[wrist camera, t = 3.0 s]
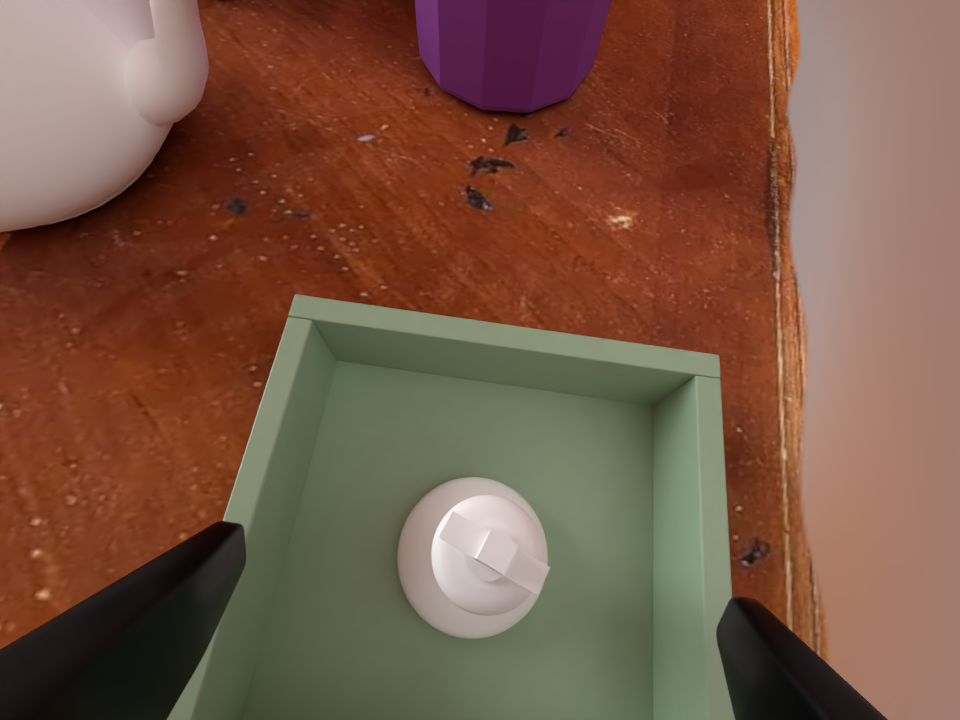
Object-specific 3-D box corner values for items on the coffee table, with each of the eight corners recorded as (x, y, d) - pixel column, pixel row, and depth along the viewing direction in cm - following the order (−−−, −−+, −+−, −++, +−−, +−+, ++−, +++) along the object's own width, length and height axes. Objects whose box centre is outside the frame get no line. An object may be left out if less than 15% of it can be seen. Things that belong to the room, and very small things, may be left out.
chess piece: (504, 670, 15) (586, 866, 6) (368, 586, 16) (238, 633, 6) (570, 522, 17) (719, 482, 7) (445, 452, 17) (435, 332, 8)
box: (671, 838, 14) (752, 944, 10) (207, 768, 14) (115, 848, 10) (667, 394, 19) (719, 354, 15) (326, 344, 19) (294, 293, 15)
